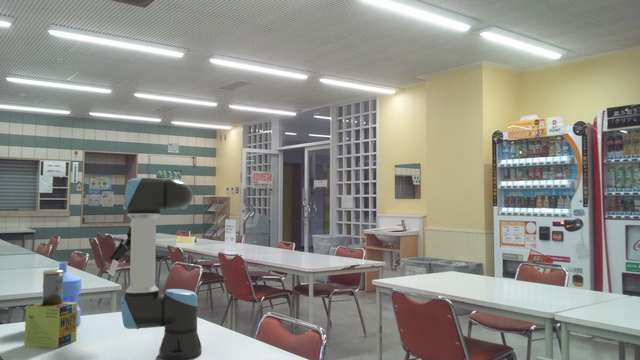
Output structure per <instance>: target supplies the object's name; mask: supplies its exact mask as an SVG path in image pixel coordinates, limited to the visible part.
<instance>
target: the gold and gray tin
mask: <svg viewBox="0 0 640 360" xmlns="http://www.w3.org/2000/svg"><path fill="white" fill-rule="evenodd" d="M63 273H64V270H59V269H47V270H43V271H42V275H43V276H42V277H43V278H42V305H44V306H53V305H59V304H62V301H63Z"/></svg>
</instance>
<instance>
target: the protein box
mask: <svg viewBox="0 0 640 360" xmlns="http://www.w3.org/2000/svg"><path fill="white" fill-rule="evenodd" d="M24 320H25V324H24V345H23V346H25V347H34V348H35V347H36V348H37V347H39V348H47V349H48V348H51V349H52V348H53V349H59V348H63V347H65V346H67V345H69V344H72V343H75V342H77V330H78V329H77V328H78V326H77V302H62V304H59V305H53V306H44V305H42V302H37V303H32V304H28V305H25V319H24Z"/></svg>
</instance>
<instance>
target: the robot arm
mask: <svg viewBox="0 0 640 360" xmlns="http://www.w3.org/2000/svg"><path fill="white" fill-rule="evenodd" d="M124 191H125V192H124V199H123V204H122V210H124V211H126V215H127V217H128V218H130V219H131V221H130V223H129V228H128V229H127V232H126V235H127V238H126V239H123V238H122V239H121V240H120V242H119V244H118V245H117V246H116V248H115V249H114V251H113V253H112V254H111V255H110V257H109V259H110V260H111V263H110V266H109V269H108V273H107V274H108V275H110V276H112V277H113V276H115V274H116V272H117V269H118V265H119V260H121V258H123V257H124V255H125V254H126V253H127V252H129V251H130V258H129V259H130V264H129V265H130V266H129V268H130V269H129V272H130V273H129V286H128V288H127V289H125V291H124V295H122V296H120V309H121V311H120V312H121V317H122V323H123V327H124V328H125V329H128V330H139V329H147V328H148V329H149V328H161V327H163V328H164V331H163V332H164V334H163V337H162V339H161V342H160V347H159V349H158V357H159V358H161V359H164V360H188V359H192V358H196V357H199V356H200V355H201V354H202V351H203V349H202V348H203V347H202V344H201V340H200V336H199V333H198V306H199V302H198V295H197V293H195V292H194V291H191V290H189V289H182V288H169V289H166V290H165V291H164V293H160V288H158V286H157V285H156V284H155V283H156V246H157V243H156V241H157V240H156V239H157V236H156V235H157V219H158V218H159V217H160V216H161V211H164V210H165V211H166V210H168V211H169V210H171V211H172V210H186V209H188V206H189V205H190V204H191V202H192V201H193V198H194V196H193V195H194V193H193V190H192V188H191V187H190V186H189V185H188V184H186V183H185V182H183V181H181V180H178V179H174V178H154V177H153V178H152V177H148V178H147V177H135V178H134V177H133V178H130V179H128V181H127V183H126V187H125V190H124Z"/></svg>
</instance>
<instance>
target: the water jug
mask: <svg viewBox="0 0 640 360" xmlns="http://www.w3.org/2000/svg"><path fill="white" fill-rule="evenodd" d="M58 265H59V268H58V270H64V273H63V301H62V302H77V327H78V326H80V324H81V321H82V320H81V309H82V308H80V306H79V295H80V294H82V287H83V286H82V278H81V277H80V276H78V275H77V276H76V275H74V274H71V273H69V272H68V271H67V270H68V263H67V262H61V263H58Z"/></svg>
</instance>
